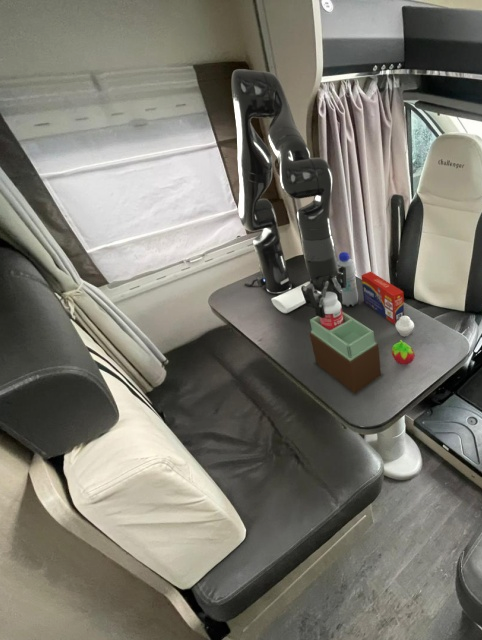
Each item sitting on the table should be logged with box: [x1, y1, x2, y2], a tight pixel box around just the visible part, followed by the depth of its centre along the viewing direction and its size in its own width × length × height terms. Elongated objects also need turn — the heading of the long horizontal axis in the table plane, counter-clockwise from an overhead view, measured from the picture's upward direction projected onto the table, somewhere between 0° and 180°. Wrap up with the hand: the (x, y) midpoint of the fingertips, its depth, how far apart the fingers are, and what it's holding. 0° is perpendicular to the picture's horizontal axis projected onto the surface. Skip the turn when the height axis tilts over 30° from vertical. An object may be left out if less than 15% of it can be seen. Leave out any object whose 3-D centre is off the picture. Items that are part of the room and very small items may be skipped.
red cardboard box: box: [361, 271, 405, 326], centre depth 127 cm, size 18×4×12 cm, turn 42°
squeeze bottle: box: [270, 281, 321, 314], centre depth 134 cm, size 10×20×5 cm, turn 139°
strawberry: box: [391, 339, 415, 366], centre depth 107 cm, size 6×7×10 cm
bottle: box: [337, 251, 359, 307], centre depth 128 cm, size 7×7×20 cm
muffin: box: [394, 315, 415, 337], centre depth 119 cm, size 6×6×7 cm
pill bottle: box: [320, 291, 344, 331], centre depth 98 cm, size 6×6×11 cm
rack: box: [308, 311, 382, 395], centre depth 103 cm, size 18×10×17 cm, turn 47°
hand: (330, 310), depth 97 cm, fingers closed on pill bottle, 6 cm apart
